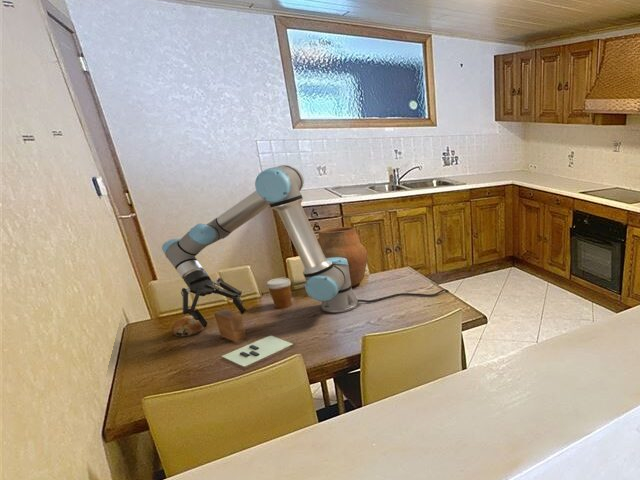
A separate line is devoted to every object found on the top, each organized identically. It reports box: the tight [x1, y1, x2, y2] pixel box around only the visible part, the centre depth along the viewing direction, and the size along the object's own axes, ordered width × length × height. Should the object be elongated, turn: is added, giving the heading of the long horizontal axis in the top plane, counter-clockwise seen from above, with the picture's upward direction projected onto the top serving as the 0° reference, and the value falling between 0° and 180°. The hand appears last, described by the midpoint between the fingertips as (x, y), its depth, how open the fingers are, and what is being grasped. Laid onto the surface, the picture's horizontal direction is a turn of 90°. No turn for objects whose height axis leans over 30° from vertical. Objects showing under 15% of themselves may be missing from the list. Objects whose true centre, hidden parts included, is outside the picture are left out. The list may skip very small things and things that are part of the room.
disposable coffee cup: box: [266, 277, 292, 309], centre depth 193 cm, size 10×10×12 cm
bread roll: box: [172, 315, 205, 337], centre depth 170 cm, size 10×10×8 cm
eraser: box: [214, 308, 247, 343], centre depth 164 cm, size 4×10×11 cm, turn 62°
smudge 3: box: [249, 351, 259, 356], centre depth 153 cm, size 1×4×1 cm, turn 62°
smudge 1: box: [240, 352, 250, 357], centre depth 152 cm, size 1×4×1 cm, turn 62°
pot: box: [317, 226, 368, 287], centre depth 215 cm, size 24×24×30 cm
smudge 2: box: [249, 345, 259, 350], centre depth 157 cm, size 1×4×1 cm, turn 62°
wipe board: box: [221, 334, 293, 367], centre depth 156 cm, size 18×14×1 cm
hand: (225, 318), depth 163 cm, fingers open, 13 cm apart
